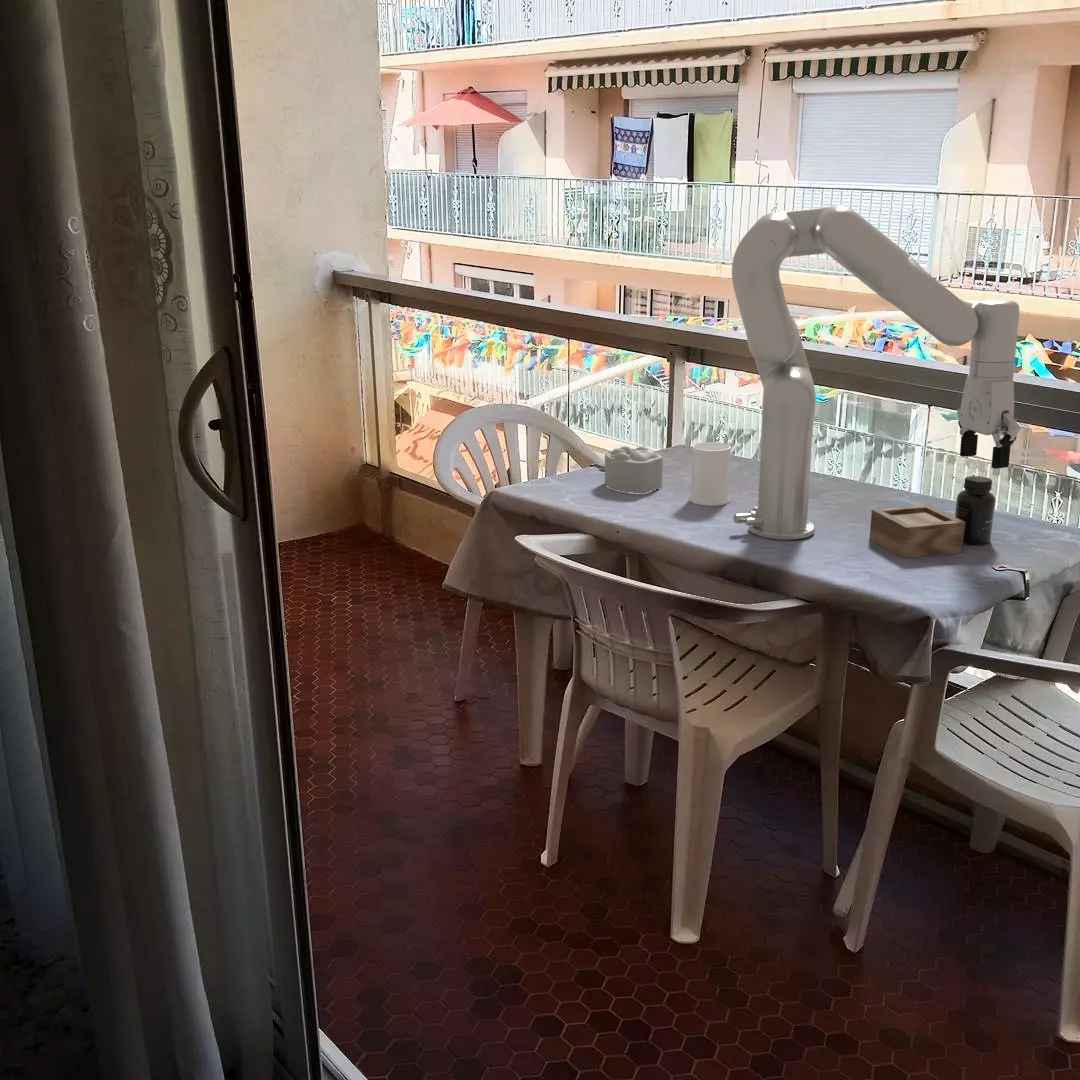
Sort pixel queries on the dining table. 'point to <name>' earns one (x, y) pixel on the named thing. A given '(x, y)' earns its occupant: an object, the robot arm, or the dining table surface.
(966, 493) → the supplement bottle
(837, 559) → the dining table surface
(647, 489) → the lumpy-topped squat cylinder
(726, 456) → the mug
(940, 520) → the display plinth
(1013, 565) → the dining table surface
